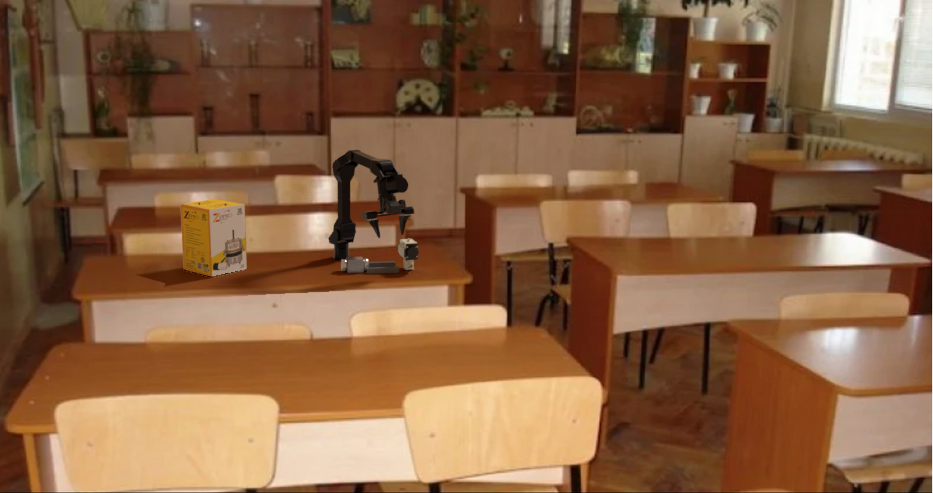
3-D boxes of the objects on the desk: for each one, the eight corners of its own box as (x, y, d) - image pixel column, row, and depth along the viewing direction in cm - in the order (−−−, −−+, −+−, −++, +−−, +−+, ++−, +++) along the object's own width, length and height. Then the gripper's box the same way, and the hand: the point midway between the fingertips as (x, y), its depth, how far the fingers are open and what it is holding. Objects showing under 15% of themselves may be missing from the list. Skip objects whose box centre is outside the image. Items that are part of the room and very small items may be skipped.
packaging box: (218, 262, 345) (216, 198, 339) (246, 269, 336) (244, 203, 330) (183, 270, 332) (180, 204, 327) (211, 278, 323) (209, 209, 317)
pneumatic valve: (409, 264, 348) (410, 234, 345) (418, 272, 337) (419, 241, 335) (396, 265, 346) (396, 235, 344) (404, 273, 336) (405, 242, 333)
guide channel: (364, 267, 343) (364, 262, 342) (395, 266, 345) (395, 261, 345) (367, 273, 334) (367, 268, 333) (399, 272, 336) (399, 267, 336)
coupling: (341, 270, 339) (340, 257, 337) (367, 269, 341) (367, 256, 340) (342, 273, 334) (342, 260, 333) (369, 272, 336) (369, 259, 335)
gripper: (370, 196, 317) (375, 240, 319) (418, 190, 326) (422, 233, 327) (359, 197, 327) (364, 239, 329) (406, 191, 336) (410, 233, 337)
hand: (390, 236), depth 330 cm, fingers open, 9 cm apart
